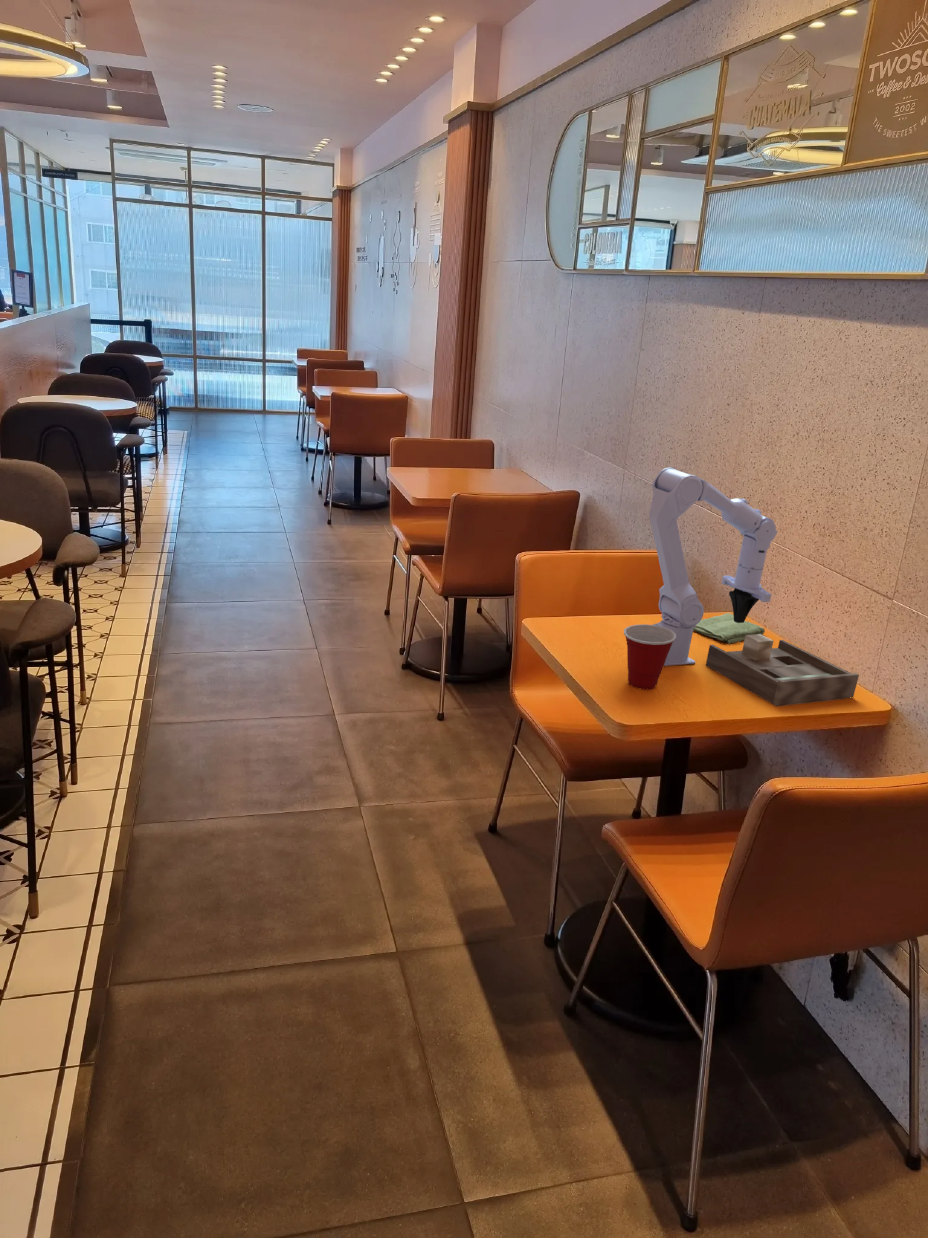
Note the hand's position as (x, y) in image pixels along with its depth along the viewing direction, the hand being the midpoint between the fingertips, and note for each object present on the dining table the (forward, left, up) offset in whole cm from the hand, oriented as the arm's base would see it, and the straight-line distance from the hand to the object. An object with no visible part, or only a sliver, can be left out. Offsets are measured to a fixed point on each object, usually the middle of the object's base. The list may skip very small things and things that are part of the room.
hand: (738, 621), depth 212 cm
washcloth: (+11, +15, -9) cm, 21 cm away
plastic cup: (-34, -11, -9) cm, 37 cm away
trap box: (0, -15, -9) cm, 17 cm away
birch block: (0, -7, -6) cm, 9 cm away
